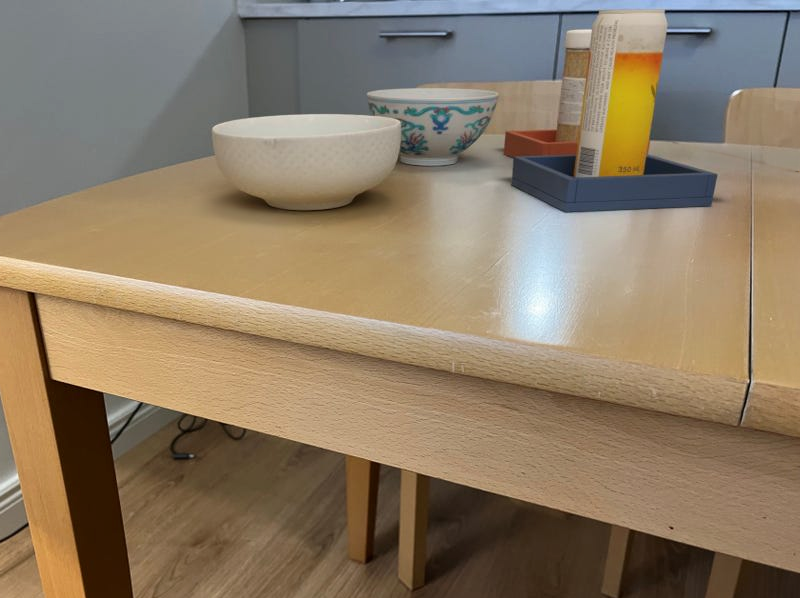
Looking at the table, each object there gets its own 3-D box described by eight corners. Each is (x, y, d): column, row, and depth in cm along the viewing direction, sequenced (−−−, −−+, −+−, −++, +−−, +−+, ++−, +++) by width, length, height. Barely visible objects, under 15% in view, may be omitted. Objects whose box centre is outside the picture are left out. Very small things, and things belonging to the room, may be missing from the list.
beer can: (654, 187, 70) (685, 9, 64) (613, 195, 67) (641, 9, 61) (599, 177, 74) (622, 11, 68) (558, 184, 71) (579, 10, 65)
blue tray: (637, 180, 77) (641, 152, 76) (711, 206, 66) (718, 173, 65) (510, 184, 76) (513, 156, 75) (564, 212, 64) (569, 179, 63)
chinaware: (414, 177, 80) (417, 100, 77) (342, 158, 92) (342, 91, 89) (520, 164, 87) (527, 94, 84) (440, 148, 99) (443, 86, 96)
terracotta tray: (598, 150, 96) (601, 128, 95) (646, 165, 85) (650, 140, 84) (503, 154, 94) (505, 130, 93) (540, 169, 84) (543, 143, 83)
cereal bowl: (292, 178, 80) (290, 109, 77) (431, 195, 71) (435, 117, 68) (177, 207, 67) (170, 125, 65) (329, 233, 59) (329, 139, 56)
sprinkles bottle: (570, 148, 92) (585, 29, 87) (601, 153, 89) (618, 29, 83) (544, 152, 90) (557, 29, 85) (574, 156, 87) (590, 29, 81)
